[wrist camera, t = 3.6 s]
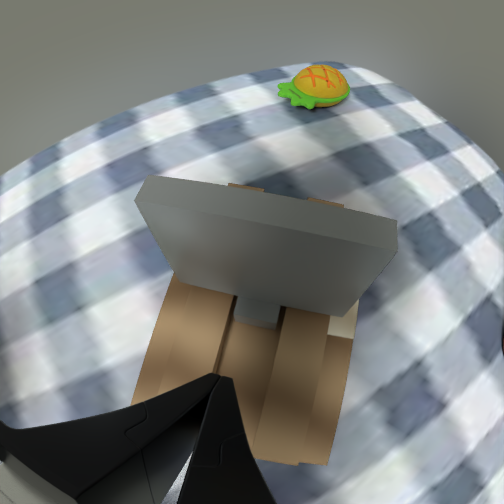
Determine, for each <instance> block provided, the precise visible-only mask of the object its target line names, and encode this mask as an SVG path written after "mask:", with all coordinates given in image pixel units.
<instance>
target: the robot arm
mask: <svg viewBox="0 0 504 504" xmlns="http://www.w3.org/2000/svg"><path fill="white" fill-rule="evenodd" d="M192 451H193V452H192ZM191 453H192V456H191V459H190V462H189V465H188V469H187V472H186V475H185V478H184V482H183V485H182V488H181V491H180V495H179V498H178V501H177V504H277V503H276V501H275V499H274V497H273V495H272V493H271V491H270V489H269V487H268V485H267V483H266V481H265V479H264V477H263V475H262V473H261V471H260V469H259V467H258V465H257V463H256V461H255V459H254V457H253V454H252V452H251V449H250V446H249V443H248V439H247V435H246V433H245V428H244V424H243V420H242V416H241V412H240V408H239V403H238V399H237V395H236V390H235V386H234V382H233V378H231V377H227V376H221V375H219V374H215V373H208V374H206V375H204V376H201V377H199V378H197V379H195V380H193V381H190V382H188V383H186V384H183V385H181V386H179V387H177V388H174V389H172V390H170V391H167V392H165V393H162V394H160V395H158V396H155V397H153V398H150V399H148V400H145V401H144V402H143V401H142V402H139V403H137V404H134V405H131V406H128V407H126V408H123V409H119V410H116V411H112V412H108V413H104V414H100V415H95V416H91V417H86V418H82V419H77V420H72V421H67V422H62V423H56V424H51V425H45V426H39V427H32V428H25V429H14V428H11V427H9V426H7V425H6V424H5V423H3V422H2V421H1V420H0V460H1V461H2V462H1V463H0V504H161V502H162V501H163V499H164V498H165V496H166V494H167V493H168V491H169V489H170V488H171V486H172V485H173V483H174V481H175V480H176V478H177V476H178V475H179V473H180V471H181V470H182V468H183V466H184V465H185V463H186V461H187V460H188V458H189V456H190V455H191Z"/></svg>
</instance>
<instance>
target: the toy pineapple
mask: <svg viewBox="0 0 504 504" xmlns="http://www.w3.org/2000/svg"><path fill="white" fill-rule="evenodd" d="M278 88H279V89H280V91H279V92H278V96H280V97H285V98H290V99H291V105H293V106H300V105H302V106H305V107H306V108H308V109H312V108H314V106H315V107H329V106H333V105H335V104H337V103H339V102H340V101H342V100H343V99H344V98H346V97H347V96H348V94H349V92H350V87H349V85H348V83H347V81H346V79H345V77H344V76H343V75H342V74H341V73H340V72H339V71H338V70H337V69H335V68H332V67H331V66H327V65H312V66H309V67H307V68H305V69H303V70H302V71H300V72H299V73H298V74H297V75H296V76H295V77H294V78H293V79H292V82H290V83H280V84H278Z"/></svg>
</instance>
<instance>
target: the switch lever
mask: <svg viewBox="0 0 504 504" xmlns="http://www.w3.org/2000/svg"><path fill="white" fill-rule="evenodd" d="M134 201H135V203H136V205H137V207H138V209H139V211H140V213H141V214H142V216H143V218H144V220H145V222H146V224H147V225H148V227H149V229H150V231H151V233H152V235H153V236H154V238H155V240H156V242H157V244H158V245H159V247H160V249H161V251H162V252H163V254H164V256H165V258H166V259H167V261H168V263H169V265H170V266H171V268H172V270H173V271H174V273H175V275H176V276H177V278H178V280H179V281H180V282H182V283H186V284H190V285H194V286H198V287H202V288H206V289H210V290H215V291H219V292H223V293H227V294H232V295H236V296H238V299H237V302H236V306H235V310H234V313H233V314H234V318H235V321H236V322H241V323H245V324H249V325H254V326H258V327H263V328H267V329H272V330H275V329H276V324H277V320H278V316H279V311H280V307H281V305H282V306H287V307H291V308H296V309H301V310H306V311H311V312H316V313H321V314H326V315H332V316H337V317H343V316H344V315H345V314H346V313H347V312H348V311H349V309H350V308H351V307H352V306H353V305H354V304H355V303H356V301H357V300H358V299H359V298H360V297H361V296H362V295H363V293H364V292H365V291H366V290H367V289H368V287H369V286H370V285H371V284H372V283H373V281H374V280H375V279H376V278H377V277H378V275H379V274H380V273H381V272H382V271H383V269H384V268H385V267H386V266H387V264H388V263H389V262H390V261H391V259H392V258H393V257H394V255H395V254H396V253H397V220H393V219H389V218H385V217H381V216H376V215H372V214H368V213H364V212H359V211H355V210H350V209H346V208H341V207H337V206H332V205H327V204H323V203H318V202H313V201H308V200H303V199H298V198H293V197H288V196H282V195H277V194H272V193H266V192H261V191H255V190H249V189H243V188H237V187H231V186H225V185H219V184H212V183H205V182H199V181H192V180H185V179H177V178H170V177H162V176H154V175H148V176H147V178H146V180H145V181H144V183H143V185H142V187H141V189H140V191H139V192H138V194H137V196H136V198H135V200H134Z"/></svg>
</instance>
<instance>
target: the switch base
mask: <svg viewBox="0 0 504 504" xmlns="http://www.w3.org/2000/svg"><path fill="white" fill-rule="evenodd" d="M228 186H231V187H237V188H243V189H249V190H255V191H261V192H264V189H261V188H256V187H250V186H244V185H238V184H232V183H229V184H228ZM307 200H308V201H313V202H318V203H323V204H327V205H332V206H337V207H341V208H344V205H342V204H338V203H333V202H329V201H324V200H319V199H314V198H309V197H308V199H307ZM237 299H238V296H236V295H232V294H227V293H223V292H219V291H215V290H210V289H206V288H202V287H198V286H194V285H190V284H186V283H182V282H180V281H179V280H178V278H177V276H176V275H175V273H174V274H173V276H172V279H171V282H170V285H169V287H168V290H167V293H166V296H165V299H164V301H163V304H162V307H161V310H160V313H159V316H158V319H157V322H156V325H155V328H154V331H153V334H152V337H151V340H150V343H149V346H148V349H147V352H146V355H145V358H144V362H143V365H142V368H141V371H140V375H139V378H138V381H137V385H136V388H135V391H134V395H133V398H132V402H131V405H134V404H137V403H139V402H142V401H143V402H144V401H145V400H148V399H150V398H153V397H155V396H158V395H160V394H162V393H165V392H167V391H170V390H172V389H174V388H177V387H179V386H181V385H183V384H186V383H188V382H190V381H193V380H195V379H197V378H199V377H201V376H204V375H206V374H208V373H215V374H219V375H221V376H227V377H231V378H233V382H234V386H235V390H236V395H237V399H238V403H239V408H240V412H241V416H242V420H243V424H244V428H245V433H246V435H247V439H248V443H249V446H250V449H251V452H252V454H253V457H254V458H257V459H262V460H267V461H272V462H278V463H283V464H290V465H296V466H298V463H299V462H303V463H310V464H318V465H327V463H328V459H329V456H330V452H331V448H332V444H333V440H334V436H335V432H336V428H337V423H338V419H339V414H340V410H341V405H342V400H343V395H344V390H345V385H346V380H347V374H348V368H349V363H350V357H351V350H352V344H353V339H354V335H355V328H356V320H357V312H358V304H359V299H358V300H357V301H356V303H355V304H354V305H353V306H352V307H351V308H350V309H349V311H348V312H347V313H346V314H345V315H344V316H343V317H337V316H332V315H326V314H321V313H316V312H311V311H306V310H301V309H296V308H291V307H287V306H282V305H281V307H280V311H279V316H278V320H277V324H276V329H275V330H272V329H267V328H263V327H258V326H254V325H249V324H245V323H241V322H236V321H235V318H234V314H233V313H234V310H235V306H236V302H237ZM131 405H130V406H131Z"/></svg>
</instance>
